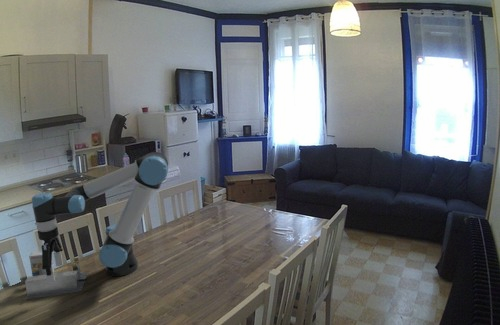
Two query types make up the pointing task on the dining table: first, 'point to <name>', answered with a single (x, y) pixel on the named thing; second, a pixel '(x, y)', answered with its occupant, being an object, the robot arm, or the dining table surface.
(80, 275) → the stand
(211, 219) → the dining table surface
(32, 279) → the rail
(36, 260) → the ink box
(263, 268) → the dining table surface
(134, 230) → the robot arm
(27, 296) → the mat
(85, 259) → the dining table surface
